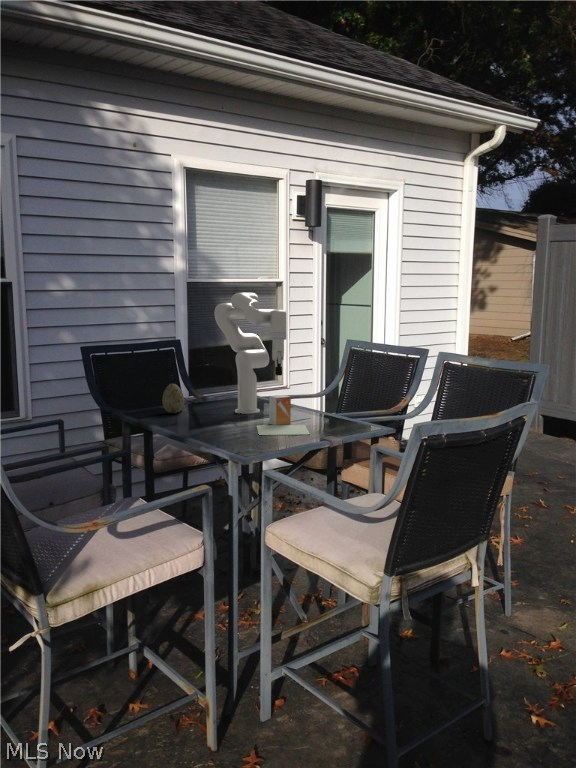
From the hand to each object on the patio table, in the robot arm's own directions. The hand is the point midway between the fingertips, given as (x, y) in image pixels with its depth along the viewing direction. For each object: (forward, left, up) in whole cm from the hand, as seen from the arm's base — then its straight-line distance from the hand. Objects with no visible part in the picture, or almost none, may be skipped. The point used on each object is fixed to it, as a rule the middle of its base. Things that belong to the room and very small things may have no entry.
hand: (278, 375), depth 320 cm
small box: (+10, 0, -22) cm, 24 cm away
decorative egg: (-21, -51, -22) cm, 60 cm away
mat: (+25, 0, -22) cm, 33 cm away
